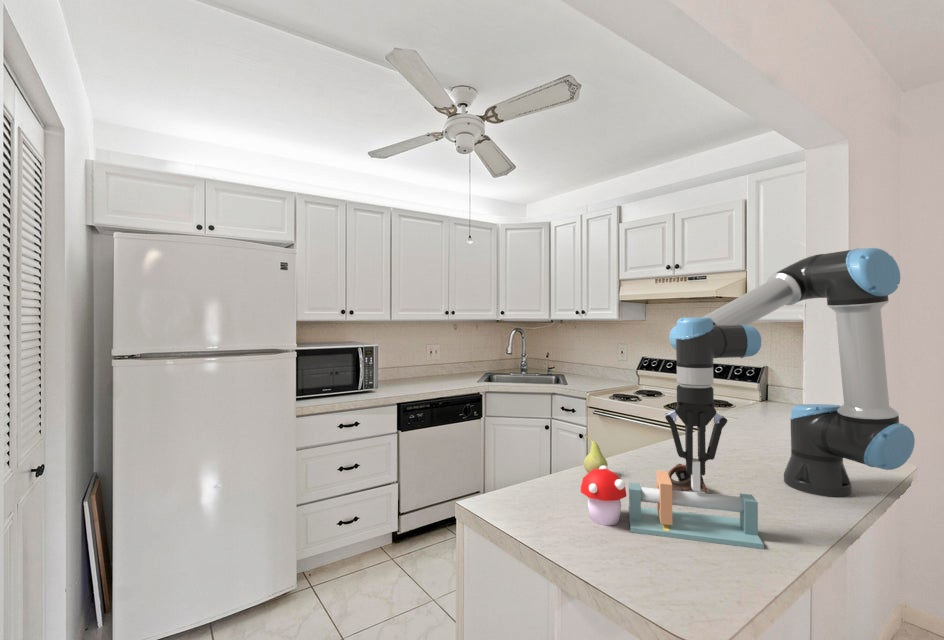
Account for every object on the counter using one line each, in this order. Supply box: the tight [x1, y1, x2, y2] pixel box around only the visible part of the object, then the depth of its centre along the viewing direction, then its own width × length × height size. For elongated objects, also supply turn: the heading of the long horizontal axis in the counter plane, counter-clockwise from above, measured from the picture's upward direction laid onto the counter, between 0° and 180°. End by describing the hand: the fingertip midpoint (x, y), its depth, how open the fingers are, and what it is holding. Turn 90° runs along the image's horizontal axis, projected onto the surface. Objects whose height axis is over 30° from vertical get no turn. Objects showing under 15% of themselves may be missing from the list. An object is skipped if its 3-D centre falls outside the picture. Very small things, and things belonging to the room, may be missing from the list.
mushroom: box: [580, 466, 627, 527], centre depth 108 cm, size 11×11×12 cm
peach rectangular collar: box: [656, 470, 673, 525], centre depth 105 cm, size 2×9×9 cm, turn 163°
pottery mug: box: [668, 463, 708, 494], centre depth 125 cm, size 12×10×8 cm
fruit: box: [583, 433, 609, 474], centre depth 137 cm, size 7×8×12 cm
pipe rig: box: [628, 482, 764, 550], centre depth 103 cm, size 26×12×8 cm, turn 73°
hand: (695, 488), depth 103 cm, fingers closed
